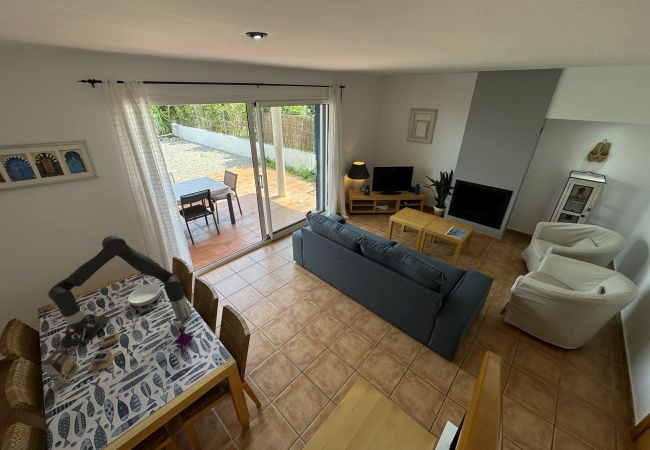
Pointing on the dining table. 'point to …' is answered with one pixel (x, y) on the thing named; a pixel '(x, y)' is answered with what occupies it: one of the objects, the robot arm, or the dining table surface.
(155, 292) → the serving bowl
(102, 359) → the link
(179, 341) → the perfume bottle
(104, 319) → the casserole
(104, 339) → the link
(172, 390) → the dining table surface
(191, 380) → the dining table surface
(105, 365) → the keeper
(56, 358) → the coffee box
